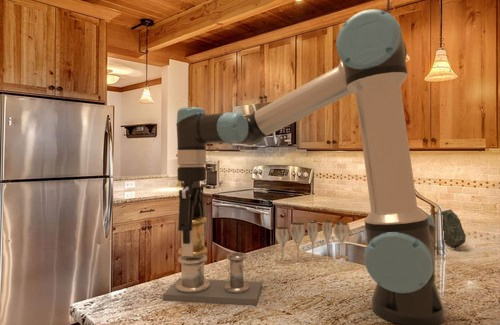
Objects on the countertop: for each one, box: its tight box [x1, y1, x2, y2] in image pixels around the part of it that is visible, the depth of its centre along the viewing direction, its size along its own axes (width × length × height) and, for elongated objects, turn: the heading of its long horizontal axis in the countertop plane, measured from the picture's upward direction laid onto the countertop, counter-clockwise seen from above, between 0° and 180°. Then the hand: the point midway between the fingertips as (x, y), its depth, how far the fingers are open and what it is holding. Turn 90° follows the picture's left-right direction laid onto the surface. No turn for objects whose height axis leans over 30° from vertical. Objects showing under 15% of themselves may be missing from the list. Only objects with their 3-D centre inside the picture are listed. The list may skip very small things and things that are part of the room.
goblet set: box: [275, 220, 351, 265], centre depth 124 cm, size 28×6×13 cm, turn 106°
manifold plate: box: [162, 277, 263, 306], centre depth 94 cm, size 24×12×2 cm, turn 81°
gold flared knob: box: [177, 216, 208, 256], centre depth 95 cm, size 8×8×9 cm
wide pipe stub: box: [176, 253, 210, 293], centre depth 95 cm, size 9×9×8 cm
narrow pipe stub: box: [225, 251, 249, 294], centre depth 93 cm, size 6×6×9 cm
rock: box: [441, 209, 467, 248], centre depth 141 cm, size 18×6×14 cm, turn 162°
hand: (192, 251), depth 95 cm, fingers closed on gold flared knob, 7 cm apart
